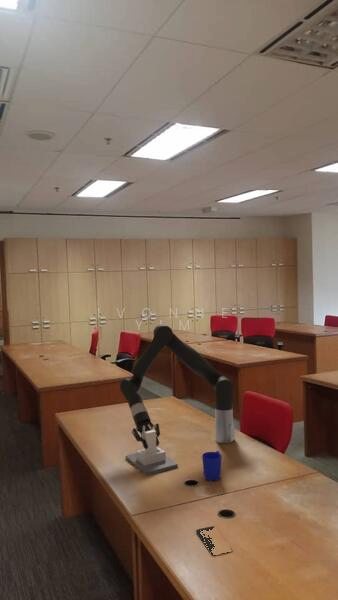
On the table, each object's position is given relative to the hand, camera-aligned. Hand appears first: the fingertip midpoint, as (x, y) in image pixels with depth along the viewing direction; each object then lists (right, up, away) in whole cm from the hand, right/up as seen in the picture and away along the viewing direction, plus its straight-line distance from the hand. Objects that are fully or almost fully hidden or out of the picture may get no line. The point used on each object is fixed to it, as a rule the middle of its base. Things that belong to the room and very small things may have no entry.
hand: (152, 446), depth 212 cm
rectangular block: (-1, -5, +2) cm, 6 cm away
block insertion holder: (-1, -8, +2) cm, 8 cm away
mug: (+27, -9, -14) cm, 32 cm away
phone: (+22, -12, -62) cm, 67 cm away
